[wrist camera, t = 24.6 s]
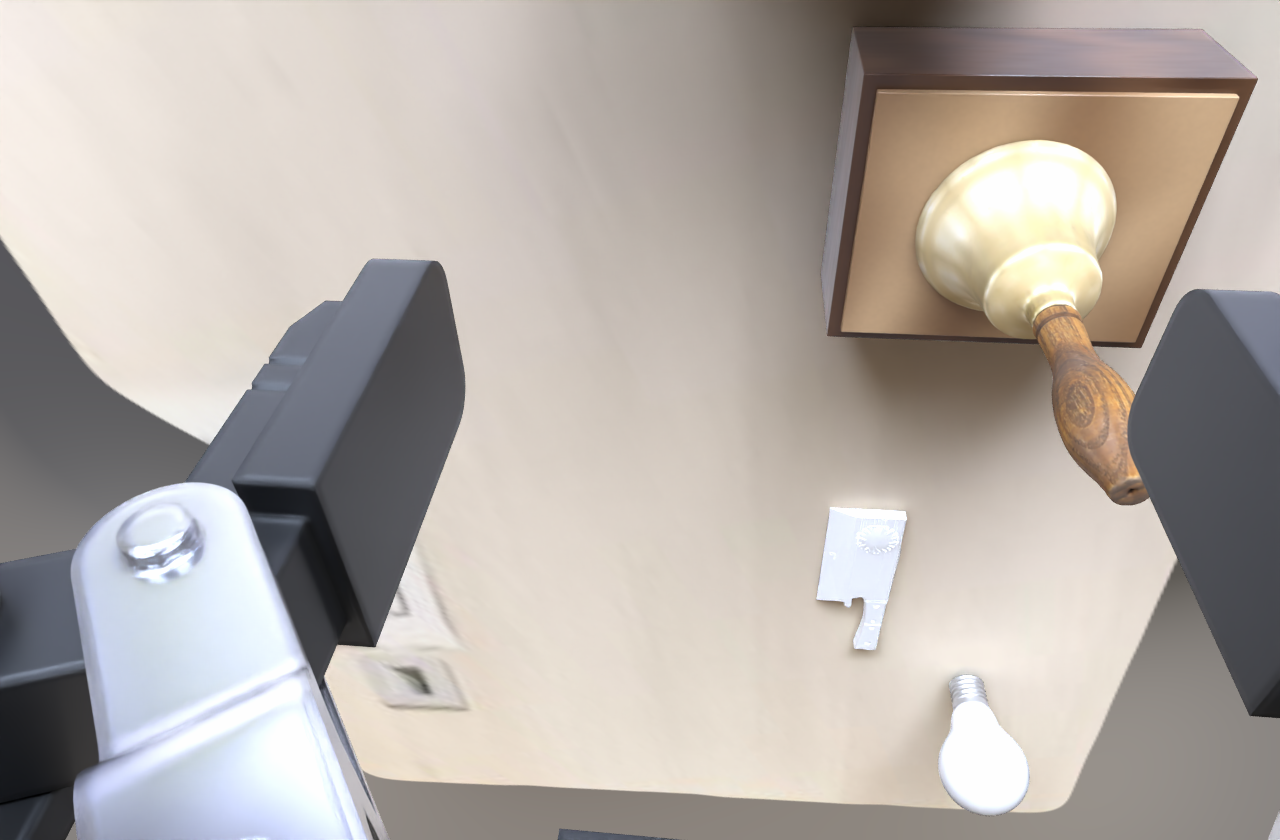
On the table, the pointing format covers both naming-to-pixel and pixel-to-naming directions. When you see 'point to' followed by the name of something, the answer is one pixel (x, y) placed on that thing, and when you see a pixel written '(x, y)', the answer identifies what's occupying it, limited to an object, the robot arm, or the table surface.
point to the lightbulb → (980, 755)
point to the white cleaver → (861, 564)
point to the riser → (1011, 112)
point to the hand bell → (1039, 282)
